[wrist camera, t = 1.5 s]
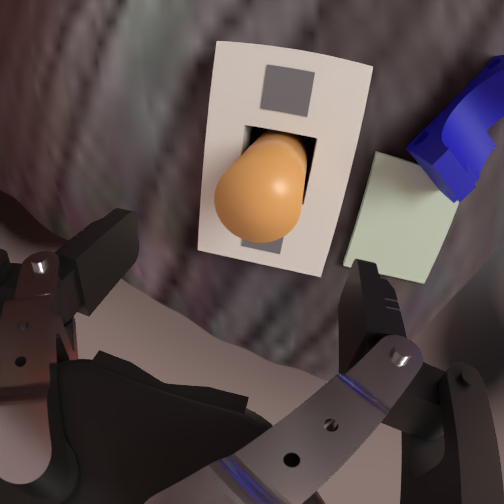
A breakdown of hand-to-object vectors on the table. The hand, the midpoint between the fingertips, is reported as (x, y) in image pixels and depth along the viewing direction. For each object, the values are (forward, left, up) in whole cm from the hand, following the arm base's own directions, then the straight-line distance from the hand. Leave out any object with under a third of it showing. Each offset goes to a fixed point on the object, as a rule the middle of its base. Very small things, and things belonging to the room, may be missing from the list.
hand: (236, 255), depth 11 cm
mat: (+3, +11, -15) cm, 18 cm away
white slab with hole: (0, 0, -15) cm, 15 cm away
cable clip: (-7, +14, -14) cm, 21 cm away
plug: (0, 0, -15) cm, 15 cm away
